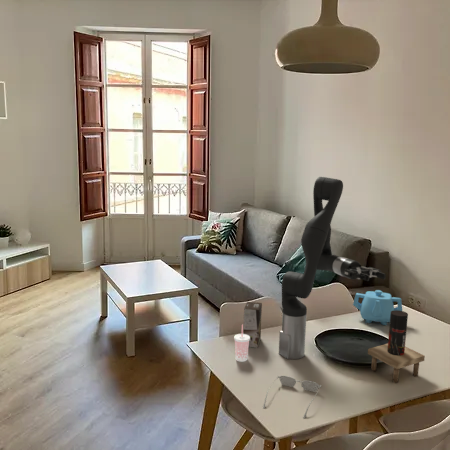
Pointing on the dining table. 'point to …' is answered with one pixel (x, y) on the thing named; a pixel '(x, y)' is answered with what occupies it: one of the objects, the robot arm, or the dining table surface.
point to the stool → (395, 359)
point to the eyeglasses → (305, 384)
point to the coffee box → (253, 322)
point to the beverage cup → (241, 346)
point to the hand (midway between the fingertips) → (376, 277)
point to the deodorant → (397, 332)
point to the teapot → (376, 306)
